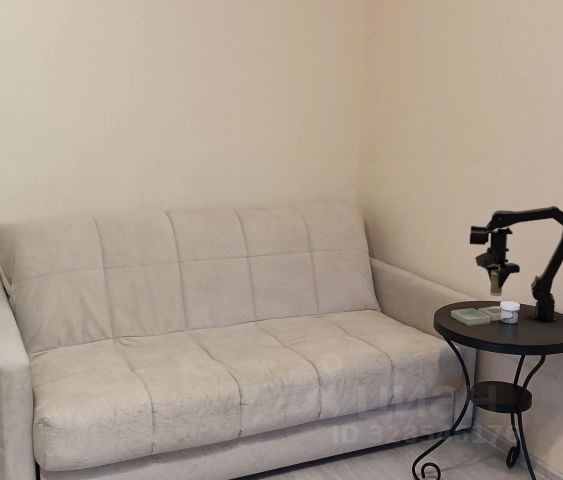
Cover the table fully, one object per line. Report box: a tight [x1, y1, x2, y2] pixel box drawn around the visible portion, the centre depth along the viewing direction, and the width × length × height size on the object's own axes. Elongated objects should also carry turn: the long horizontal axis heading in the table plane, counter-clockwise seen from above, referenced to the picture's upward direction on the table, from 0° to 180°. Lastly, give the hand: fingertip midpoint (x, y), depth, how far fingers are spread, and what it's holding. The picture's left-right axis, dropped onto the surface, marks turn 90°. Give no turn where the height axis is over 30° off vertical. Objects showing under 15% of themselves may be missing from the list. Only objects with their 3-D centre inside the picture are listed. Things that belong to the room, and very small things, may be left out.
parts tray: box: [450, 307, 491, 327], centre depth 251 cm, size 11×9×2 cm
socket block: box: [477, 305, 502, 322], centre depth 255 cm, size 9×9×2 cm
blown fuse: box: [489, 270, 503, 297], centre depth 253 cm, size 4×4×9 cm
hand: (496, 286), depth 253 cm, fingers closed on blown fuse, 4 cm apart
